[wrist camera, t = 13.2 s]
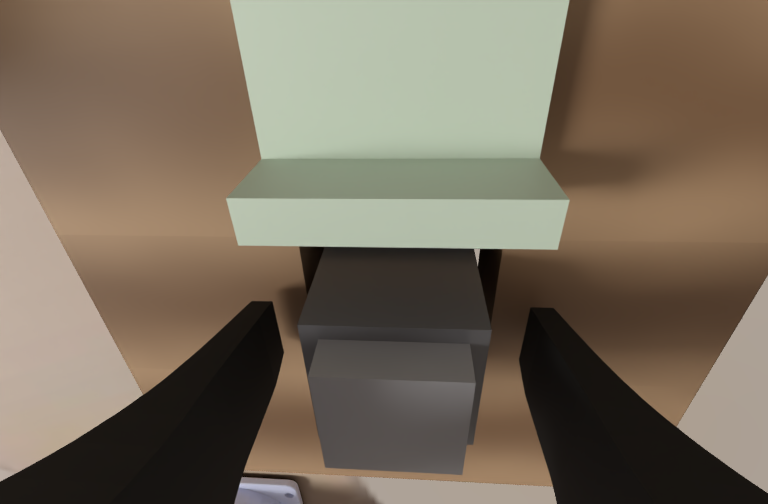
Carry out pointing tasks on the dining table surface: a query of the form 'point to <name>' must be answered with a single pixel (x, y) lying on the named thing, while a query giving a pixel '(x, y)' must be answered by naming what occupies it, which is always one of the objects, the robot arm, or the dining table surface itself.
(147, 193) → the socket board
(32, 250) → the dining table surface
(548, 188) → the pale green notched block
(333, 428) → the plug
